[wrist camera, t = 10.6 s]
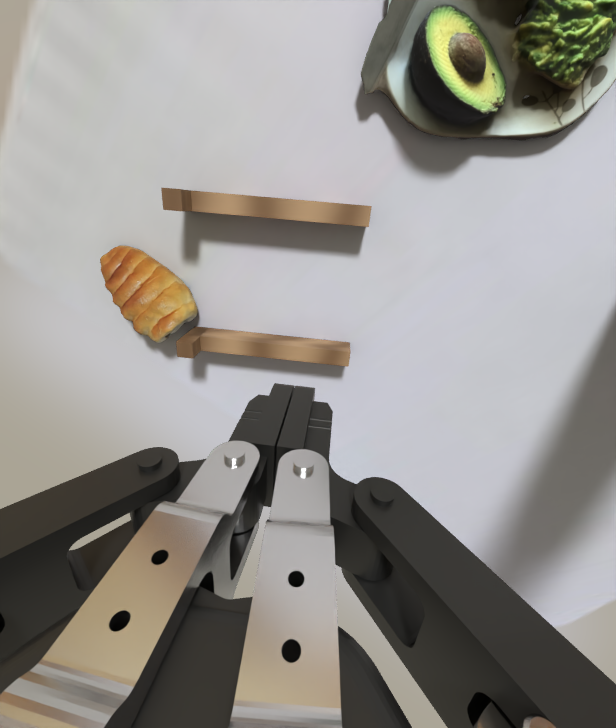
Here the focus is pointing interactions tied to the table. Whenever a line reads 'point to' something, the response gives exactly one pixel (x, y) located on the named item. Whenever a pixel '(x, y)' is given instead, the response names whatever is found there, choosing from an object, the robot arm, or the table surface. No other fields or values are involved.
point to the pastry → (147, 292)
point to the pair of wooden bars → (265, 208)
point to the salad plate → (493, 64)
